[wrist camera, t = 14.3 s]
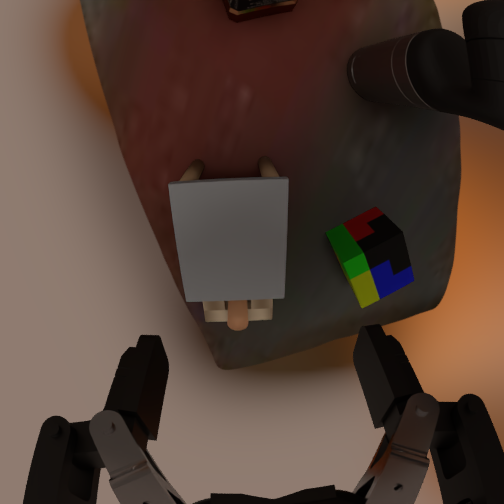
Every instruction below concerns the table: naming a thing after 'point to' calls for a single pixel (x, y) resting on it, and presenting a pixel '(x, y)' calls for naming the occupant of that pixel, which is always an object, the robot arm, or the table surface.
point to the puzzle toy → (372, 255)
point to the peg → (237, 314)
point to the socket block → (256, 310)
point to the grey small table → (231, 234)
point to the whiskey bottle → (256, 8)
